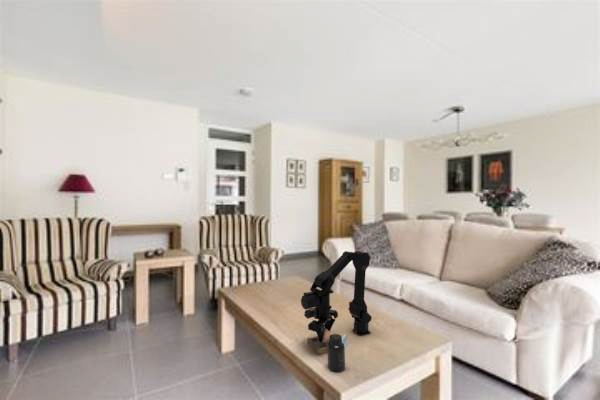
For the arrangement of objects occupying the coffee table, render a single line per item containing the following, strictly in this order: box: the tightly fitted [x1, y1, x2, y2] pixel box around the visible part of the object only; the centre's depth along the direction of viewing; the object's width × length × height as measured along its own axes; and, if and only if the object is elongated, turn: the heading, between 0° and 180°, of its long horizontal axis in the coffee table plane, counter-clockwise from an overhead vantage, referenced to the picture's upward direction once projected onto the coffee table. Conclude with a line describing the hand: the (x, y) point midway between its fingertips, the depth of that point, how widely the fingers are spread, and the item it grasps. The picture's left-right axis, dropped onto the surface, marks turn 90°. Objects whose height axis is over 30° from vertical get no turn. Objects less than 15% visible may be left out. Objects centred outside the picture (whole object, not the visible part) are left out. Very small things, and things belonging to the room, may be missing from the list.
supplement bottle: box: [326, 333, 346, 373], centre depth 110 cm, size 7×7×12 cm
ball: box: [316, 329, 332, 343], centre depth 125 cm, size 6×6×6 cm
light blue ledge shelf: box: [342, 334, 349, 347], centre depth 122 cm, size 16×2×4 cm, turn 149°
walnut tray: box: [307, 335, 330, 356], centre depth 126 cm, size 11×11×2 cm
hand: (323, 338), depth 126 cm, fingers closed on ball, 6 cm apart
